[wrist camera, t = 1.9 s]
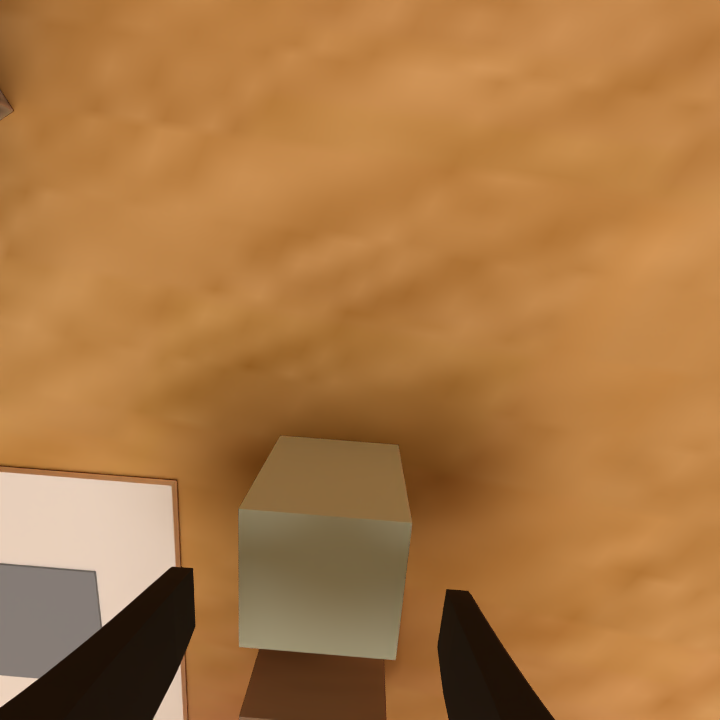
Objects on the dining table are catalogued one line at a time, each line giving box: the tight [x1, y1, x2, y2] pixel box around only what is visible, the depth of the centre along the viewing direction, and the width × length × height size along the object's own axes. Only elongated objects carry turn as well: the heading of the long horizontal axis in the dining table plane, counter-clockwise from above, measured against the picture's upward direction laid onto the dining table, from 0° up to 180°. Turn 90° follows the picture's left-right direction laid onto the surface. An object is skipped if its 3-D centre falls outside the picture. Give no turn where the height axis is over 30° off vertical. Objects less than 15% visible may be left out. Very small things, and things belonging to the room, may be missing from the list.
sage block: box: [238, 435, 412, 660], centre depth 13 cm, size 5×5×5 cm
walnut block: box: [239, 649, 386, 720], centre depth 15 cm, size 5×5×5 cm
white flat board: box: [0, 466, 188, 720], centre depth 17 cm, size 16×14×1 cm
